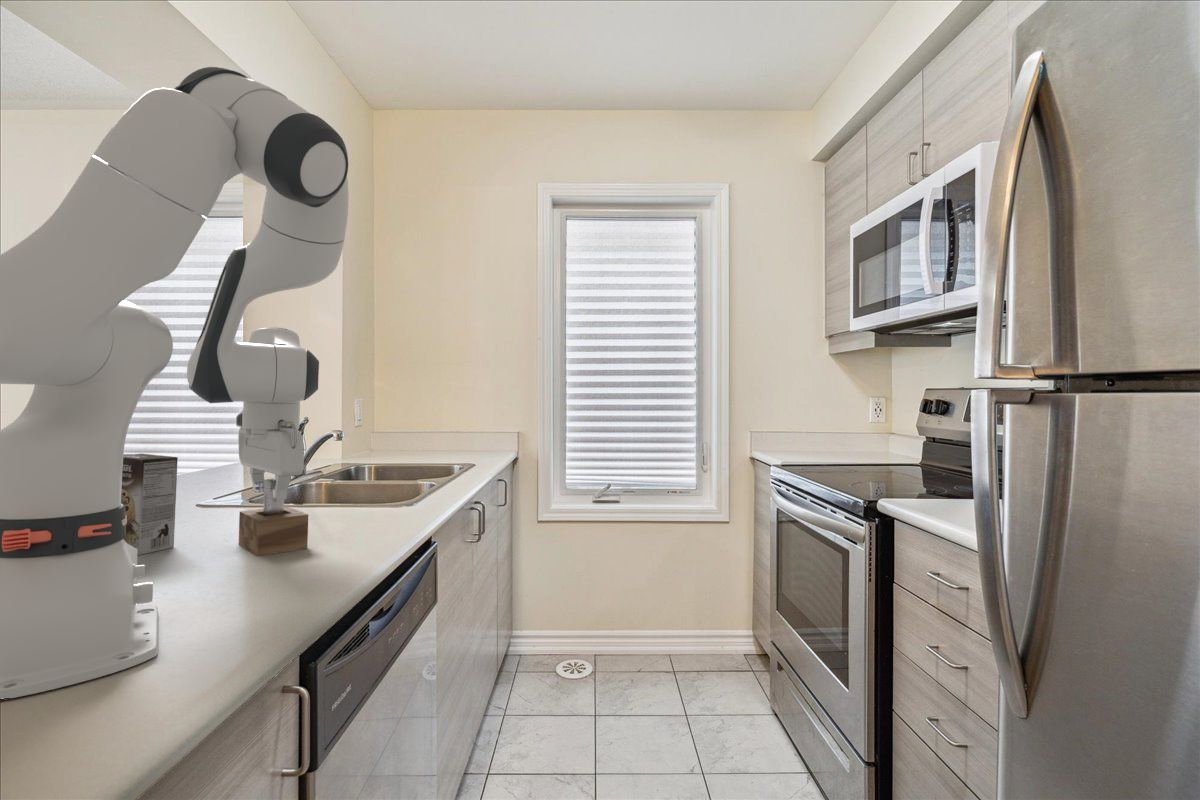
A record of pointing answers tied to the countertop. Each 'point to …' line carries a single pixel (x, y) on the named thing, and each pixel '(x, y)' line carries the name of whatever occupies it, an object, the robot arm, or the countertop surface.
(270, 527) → the walnut block
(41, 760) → the countertop surface
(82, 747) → the countertop surface
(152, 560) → the countertop surface
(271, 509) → the steel pin
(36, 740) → the countertop surface
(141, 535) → the coffee box
